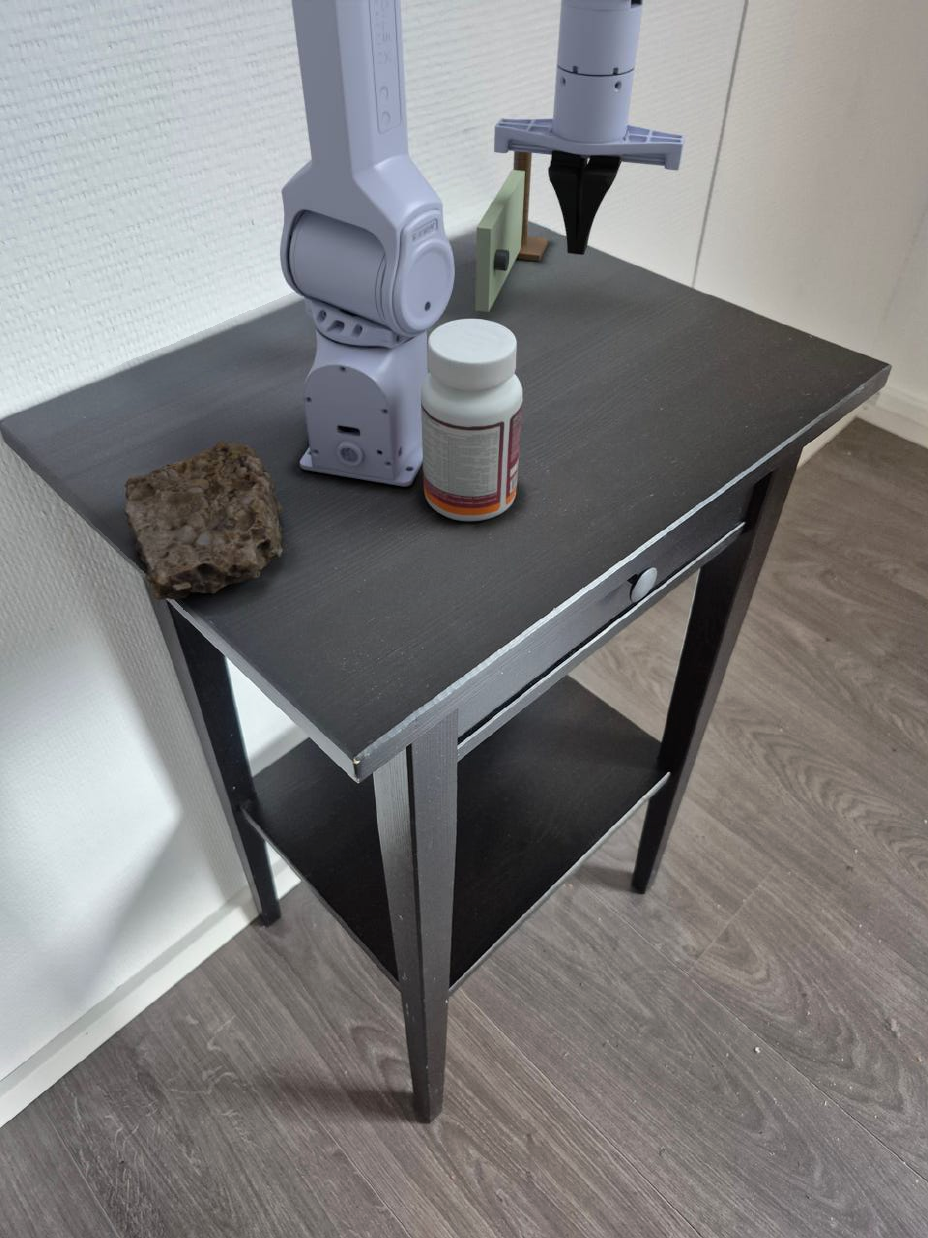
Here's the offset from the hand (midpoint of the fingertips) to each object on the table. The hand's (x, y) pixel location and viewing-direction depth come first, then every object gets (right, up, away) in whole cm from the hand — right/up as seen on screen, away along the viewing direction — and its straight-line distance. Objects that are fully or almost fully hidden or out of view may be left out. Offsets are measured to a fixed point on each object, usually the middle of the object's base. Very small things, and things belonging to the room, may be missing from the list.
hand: (577, 249), depth 75 cm
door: (-6, -1, +4) cm, 7 cm away
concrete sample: (-25, -24, -23) cm, 41 cm away
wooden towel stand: (-4, +4, +11) cm, 12 cm away
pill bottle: (-9, -23, -16) cm, 29 cm away
